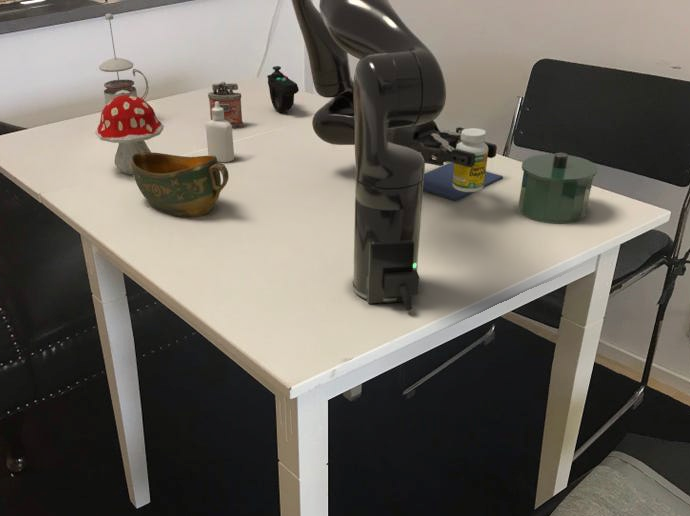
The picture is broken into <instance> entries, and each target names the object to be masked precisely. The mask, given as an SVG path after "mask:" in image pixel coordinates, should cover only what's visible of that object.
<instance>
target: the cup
mask: <svg viewBox="0 0 690 516" xmlns="http://www.w3.org/2000/svg"><path fill="white" fill-rule="evenodd" d="M131 164H132V171H133V174H132V176H133V178H134V181H135V183H136V185H137V188H138V190H139V191H140V193H141V194H142V196H143V197H144V198H145V199H146V201H147V203H148V205H149V206H150V207H152V208H153V209H155V210H157V211H159V212H161V213H164V214H167V215H171V216H175V217H180V218H181V217H183V218H197V217H202V216H206V215H208V214H210V213H211V212H212V211H213V209H214V206H215V205H217V201H218V200H219V198H220V194H221V192H222V191H223V189H224V188H225V187H226V185H227V184H228V181H229V177H230V176H229V171H228V168H227V167H226V165H225V164H223V163H222V162H218V161H217V158H216V156H215V155H209V156H208V155H198V156H183V155H175V154H168V153H161V152H152V151H151V152H143V153H136V154H134V155H133V156H132V158H131ZM221 176H222V178H221Z"/></svg>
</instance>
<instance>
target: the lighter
mask: <svg viewBox="0 0 690 516" xmlns="http://www.w3.org/2000/svg"><path fill="white" fill-rule="evenodd" d="M211 88H212V91H210V92H208V93H207V98H208V102H209V113H210V120H213V119H212V109H213V108H214V107H215V102H219V105H220V107H221V108H223V110H224V120H226V121H228V122H229V123H230V124H231V126H232V129H242V128H243V127H244V122H243V112H242V93H240V92H234V91H237V90H239V85H238V83H234V82H229V83H226V81H221V82H220V83H212V84H211Z"/></svg>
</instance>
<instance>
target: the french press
mask: <svg viewBox="0 0 690 516" xmlns="http://www.w3.org/2000/svg"><path fill="white" fill-rule="evenodd" d="M104 19H105V20H106V21H108V22H109V26H110V28H109V29H110V35H111V41H112V48H113V56H114V57H113V58H110V59H107V60H105V61H103V62H102V63H101V64H100V65H99V67H98V69H99V70H100V71H101V72H105V73H116V75H117V79H112V80H109V81H106V82H104V84H103V86H104V88H106V89H104V90H103V96H104V103H105V106H106V105H107V104H108V103H109V102H110V101H111V100H112V99H114V98H116V97H118V96H121V95H133V96H137V97H138V91H137V88H136V87H135V86H134V85H135V80H132V79H120V76H119V72H125V71H129V70H132V75H133V77H136V73H138V74H140V75H141V76H142V77H143V78H144V81H145V91H144V94H143V95H142V96H141V97H140V98H141V99H143V100H144V101H145V99H146V98H147V96H148V93H149V81H148V79H147V77H146V76H145V74H144V73H143V72H142V71H141V70H139V69H136V68H133V67H134V64H135V63H134V62H132V61H130V60H129V59H126V58H122V57H116V56H117V55H116V51H115V43H114V37H113V29H112V23H111V20H114V15H113V14H112V13H106V14H105V15H104ZM121 91H126V92H121ZM119 92H120V93H119Z"/></svg>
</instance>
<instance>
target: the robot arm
mask: <svg viewBox="0 0 690 516" xmlns="http://www.w3.org/2000/svg"><path fill="white" fill-rule="evenodd" d="M290 1H291V4H292V5H291V6H292V8H293V11H294V14H295V18H296V20H297V24H298V26H299V29H300V32H301V35H302V39H303V41H304V45H305V48H306V53H307V57H308V63H309V66H310V72H311V77H312V83H313V87H314V89H315V92H316V93H317V94H318V96H320V97H322V98H326V99H327V98H331V99H329V101H327V102H326V103H325V104H324V105H323V106H321V107H320V108H319V109H318V110H317V111H315V113H314V115H313V117H312V122H311V125H312V129H313V131H314V133H315V135H316V136H317V137H318V138H319V139H320V140H322V141H323V142H325V143H327V144H329V145H334V146H354V159H355V194H354V195H355V196H354V230H353V231H354V237H353V278H352V290H353V292H354V293H355V294H356V295H357V296H359V297H361V298H362V299H364V300H366V301H367V303H368V304H384V303H402V302H403V305H404V310H405V311H407V312H410V311H412V310H413V305H412V296H417V295H419V285H420V275H419V273H418V265H419V264H418V263H419V252H420V250H419V249H420V238H421V225H422V224H421V223H422V211H423V210H422V209H423V196H424V190H423V185H424V174H425V169H426V164H427V165H433V166H438V167H441V166H444V165H445V163H446V164H452V163H456V164H459V165H463V166H466V167H473V166H474V165H475V157H476V156H475V154H474V153H470V152H467V151H463V150H459V149H456V146H457V145H458V144H459V143H460V142H462V141H461V132H462V130H464V129H465V128H464V127H461V126H460V127H456V128H455V131H451V130H449V129H439V127H438V125H437V123H436V122H435V120H437V118H438V117H439V116H440V115H441V114H442V111H443V110H444V107H445V105H446V99H447V87H446V86H447V85H446V79H445V76H444V73H443V70H442V67H441V65H440V63H439V61H438V59H437V58H436V56H435V55H434V54H433V52H432V51H431V50H430V49H429V47H428V46H427V45H426V44H425V43H424V42H423V41H421V39H420V38H419V37H418V36H417V35H415V34H414V32H413V31H412V30H411V29H410V28H409V27H408V26H407V25H406V24H405V22H404V21H403V20H402V18H401V17H400V16H399V14H398V13H397V11H396V10H395V9H394V7H393V6H392V5H391V3H390V1H389V0H319V4H318V6H319V10H318V9H317V8H316V6H315V5H314V3H313V1H312V0H290ZM349 55H351V56H352V57H355V58H356V59H359V60H358V62H357V64H356V66H355V71H354V75H353V77H352V74H351V73H352V72H351V68H350V67H351V66H350V61H349V60H350V59H349ZM484 143H485V144H486V145H487V146H488V157H487V159H488V158H489V159H493V158H495V157H496V156H497V151H498V150H497V148H498V146H497V144H494V143H491V142H487V141H484Z"/></svg>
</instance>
